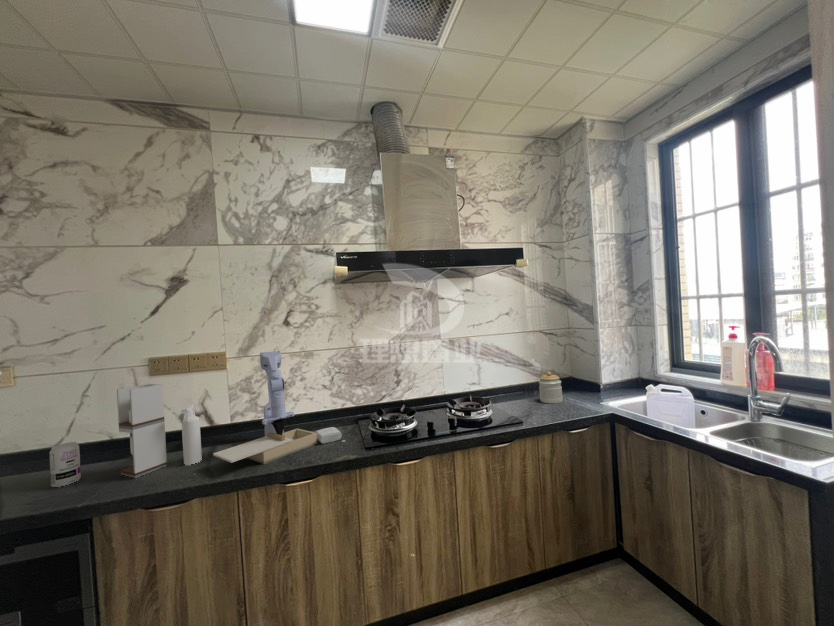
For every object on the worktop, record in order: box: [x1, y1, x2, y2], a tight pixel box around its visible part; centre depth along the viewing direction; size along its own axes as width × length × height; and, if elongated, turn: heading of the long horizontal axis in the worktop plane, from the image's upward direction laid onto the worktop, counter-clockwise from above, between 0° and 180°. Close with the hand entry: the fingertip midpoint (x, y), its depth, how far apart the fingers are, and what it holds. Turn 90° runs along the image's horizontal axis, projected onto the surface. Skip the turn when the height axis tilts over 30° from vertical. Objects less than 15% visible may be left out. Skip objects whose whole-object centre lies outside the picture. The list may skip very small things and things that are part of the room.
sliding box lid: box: [212, 432, 292, 464], centre depth 146 cm, size 16×26×3 cm, turn 143°
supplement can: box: [48, 441, 82, 488], centre depth 136 cm, size 8×8×15 cm
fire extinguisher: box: [181, 403, 203, 466], centre depth 150 cm, size 7×12×25 cm, turn 13°
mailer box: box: [245, 428, 318, 465], centre depth 156 cm, size 16×26×5 cm, turn 143°
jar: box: [538, 371, 564, 404], centre depth 207 cm, size 13×13×18 cm
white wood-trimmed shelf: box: [116, 383, 168, 479], centre depth 143 cm, size 11×11×35 cm
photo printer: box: [315, 426, 343, 444], centre depth 167 cm, size 10×4×12 cm
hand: (279, 436), depth 155 cm, fingers closed
